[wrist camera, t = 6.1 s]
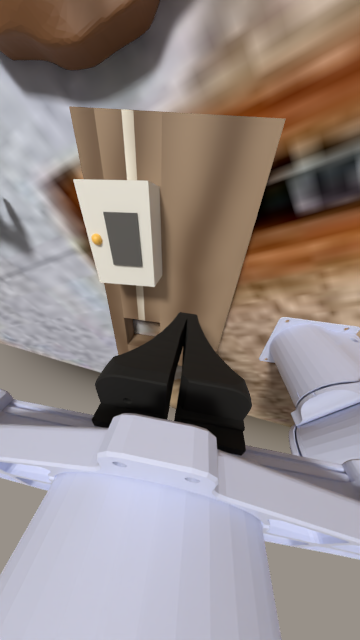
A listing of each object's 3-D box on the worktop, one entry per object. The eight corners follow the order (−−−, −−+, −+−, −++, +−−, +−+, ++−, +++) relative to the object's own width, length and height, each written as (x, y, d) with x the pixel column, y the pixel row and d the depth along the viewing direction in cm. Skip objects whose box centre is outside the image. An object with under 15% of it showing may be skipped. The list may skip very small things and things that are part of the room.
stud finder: (159, 186, 12) (146, 179, 10) (162, 275, 16) (153, 288, 14) (98, 185, 13) (68, 178, 10) (115, 272, 17) (97, 284, 14)
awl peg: (193, 365, 27) (191, 399, 22) (191, 377, 29) (188, 411, 24) (175, 362, 27) (168, 395, 22) (174, 374, 29) (167, 407, 24)
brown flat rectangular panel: (271, 134, 12) (285, 118, 10) (210, 357, 25) (211, 370, 23) (91, 123, 13) (69, 106, 11) (125, 344, 26) (118, 356, 24)
